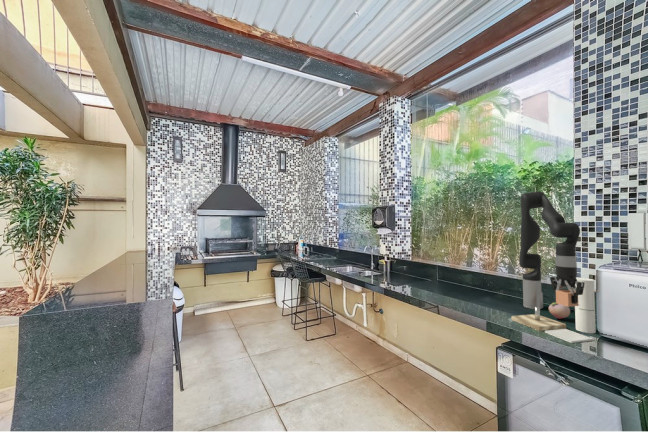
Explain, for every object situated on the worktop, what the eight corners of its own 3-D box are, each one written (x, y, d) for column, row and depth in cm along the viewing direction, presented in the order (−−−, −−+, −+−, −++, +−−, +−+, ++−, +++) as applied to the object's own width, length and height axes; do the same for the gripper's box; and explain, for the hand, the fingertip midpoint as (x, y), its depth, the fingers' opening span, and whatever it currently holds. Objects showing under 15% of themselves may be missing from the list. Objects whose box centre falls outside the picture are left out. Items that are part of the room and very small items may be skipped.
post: (537, 319, 147) (537, 306, 147) (541, 320, 145) (540, 308, 145) (534, 319, 146) (533, 307, 146) (537, 320, 144) (537, 308, 144)
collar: (565, 302, 133) (565, 289, 133) (578, 305, 128) (578, 292, 128) (556, 303, 132) (555, 290, 132) (568, 306, 127) (568, 293, 127)
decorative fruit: (562, 323, 146) (561, 303, 147) (546, 317, 154) (545, 299, 155) (574, 321, 149) (574, 302, 149) (558, 316, 157) (557, 298, 157)
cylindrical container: (585, 327, 140) (583, 277, 141) (600, 333, 133) (598, 280, 133) (571, 327, 140) (570, 277, 140) (585, 333, 133) (583, 280, 133)
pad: (565, 330, 137) (565, 328, 137) (593, 340, 125) (593, 338, 125) (545, 332, 134) (544, 330, 134) (571, 343, 123) (571, 341, 123)
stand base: (536, 317, 155) (536, 314, 155) (566, 328, 139) (566, 324, 139) (511, 319, 152) (511, 316, 152) (539, 331, 136) (539, 326, 136)
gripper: (589, 267, 124) (590, 305, 124) (557, 262, 138) (558, 297, 138) (575, 268, 123) (577, 306, 122) (544, 263, 137) (545, 298, 136)
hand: (567, 301), depth 130 cm, fingers closed on collar, 5 cm apart
